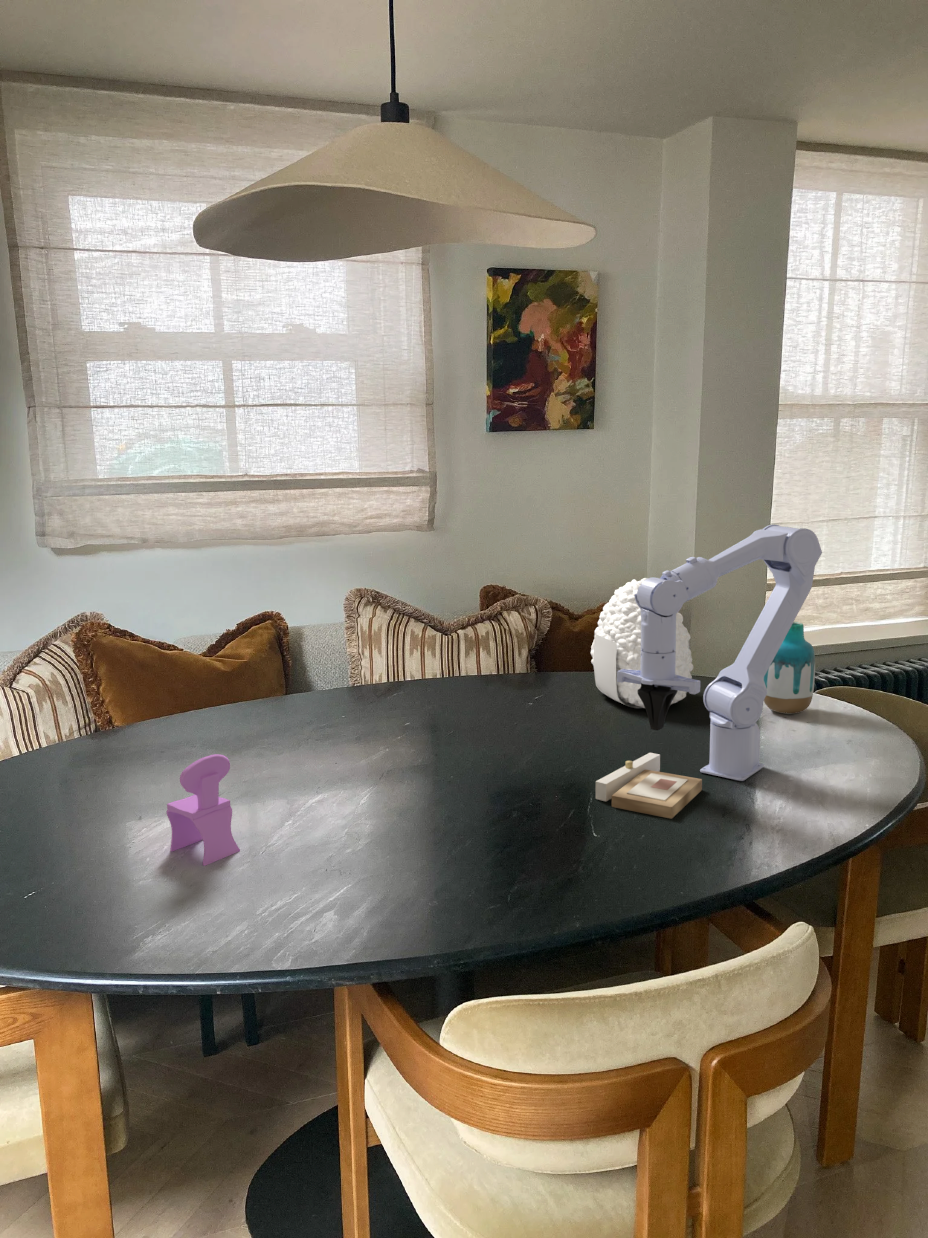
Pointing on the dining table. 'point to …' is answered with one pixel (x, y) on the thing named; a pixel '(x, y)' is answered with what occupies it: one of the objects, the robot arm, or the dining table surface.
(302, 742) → the dining table surface
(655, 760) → the rail
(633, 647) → the rice ball
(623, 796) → the frame
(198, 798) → the toy chair
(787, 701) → the vase
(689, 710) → the dining table surface
